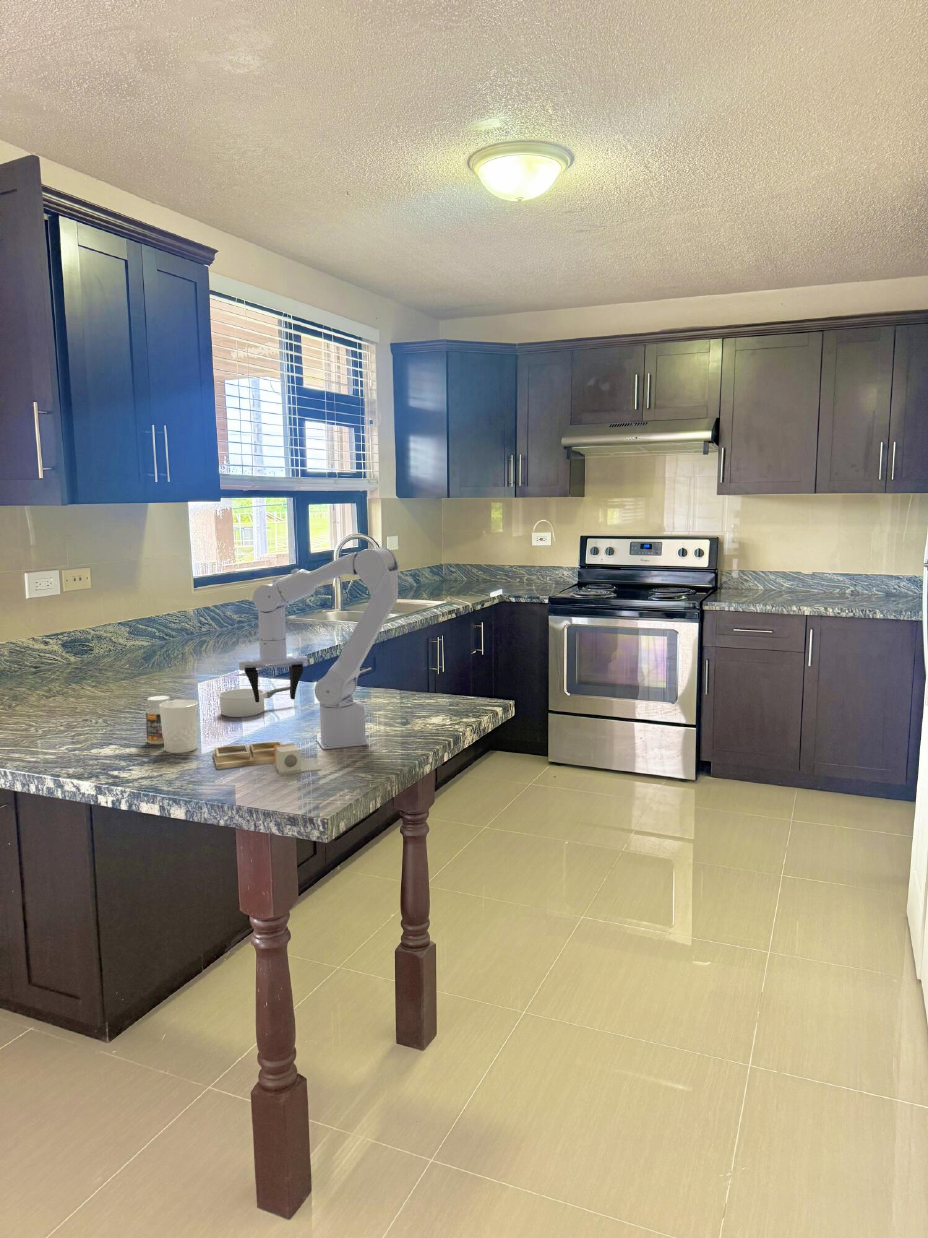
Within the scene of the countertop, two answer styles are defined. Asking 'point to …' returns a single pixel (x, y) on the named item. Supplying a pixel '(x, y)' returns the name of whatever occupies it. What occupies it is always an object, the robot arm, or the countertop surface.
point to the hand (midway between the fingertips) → (274, 700)
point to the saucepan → (244, 701)
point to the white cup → (179, 725)
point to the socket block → (244, 754)
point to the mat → (303, 767)
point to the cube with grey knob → (287, 757)
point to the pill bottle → (154, 719)
